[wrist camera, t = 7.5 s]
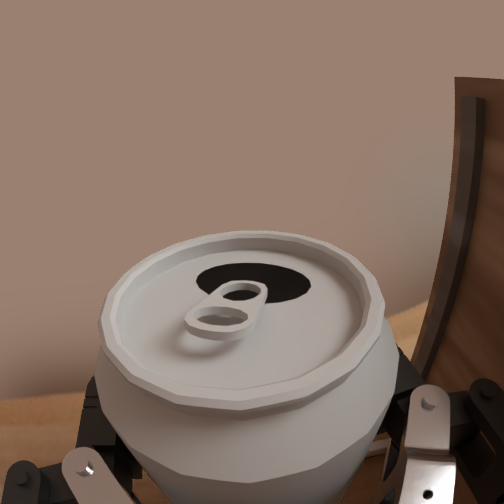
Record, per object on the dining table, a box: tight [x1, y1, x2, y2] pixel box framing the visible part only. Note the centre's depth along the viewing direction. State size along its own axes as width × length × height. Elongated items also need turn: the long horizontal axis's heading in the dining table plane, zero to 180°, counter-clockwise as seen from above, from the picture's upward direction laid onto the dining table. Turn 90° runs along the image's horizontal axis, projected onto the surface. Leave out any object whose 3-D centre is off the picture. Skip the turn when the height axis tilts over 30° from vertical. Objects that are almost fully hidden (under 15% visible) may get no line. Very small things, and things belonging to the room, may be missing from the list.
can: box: [94, 231, 399, 504], centre depth 10 cm, size 8×8×12 cm
